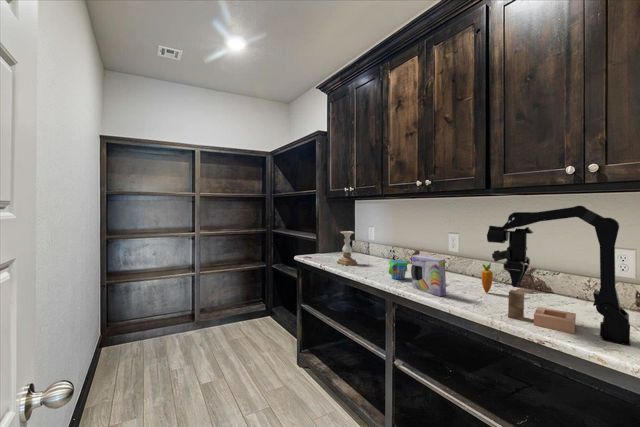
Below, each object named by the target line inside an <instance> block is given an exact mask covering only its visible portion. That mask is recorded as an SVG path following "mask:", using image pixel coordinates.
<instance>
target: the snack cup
mask: <svg viewBox="0 0 640 427" xmlns="http://www.w3.org/2000/svg"><path fill="white" fill-rule="evenodd" d="M388 263H389V267H388V274H389V275H390V276H391V279H394V280H405V279H406V274H407V273H406V272H408V264H409V263H408V261H406V260H402V259H401V260H400V259H398V260H397V259H393V260H389V261H388Z"/></svg>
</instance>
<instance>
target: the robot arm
mask: <svg viewBox="0 0 640 427" xmlns="http://www.w3.org/2000/svg"><path fill="white" fill-rule="evenodd" d="M570 218H579V219H580V220H582V221H584V222H585V223H587V224H589V225H590V226H593V227H594V230H595V233H596V237H597V240H598V244H599V245H598V246H599V273H600V274H599V276H600V277H599V280H600V284H599V285H600V286H599V287H600V288H599V290H597V289H596V290H595V289H594V290H593V293H592V294H593V299H594V300H593V301H594V302H593V305H592V306H593V307H595V309H596V311H597V313H599V314H600V315H601V316H602V321H600V324H599V325H600V326H599V329H600V330H599V336H600V337H601V338H602V339H601V340H602V341H607V342H611V343H616V344H621V345H624V346H625V345H626V346H628V347H629V346H630V347H631V341H630V339H631V337H630V336H631V323H630V314H629V313H628V311H626V310H625V309H624V308H622V307H621V303H620V299H619V295H618V290H617V288H616V242H617V238H618V234H619V230H620V224H619V221H617V219H615V218H612V217H607V216H606V217H604V216H602V215H600V214H598V213H596V212H594V211H593V210H590V209H588V208H587V207H585V205H576V206H575V205H574V206H572V207H566V208H565V207H563V208H557V209H551V210H544V211H543V210H541V211H522V212H521V211H515V212H512V213H510V214H509V215H508V218H507V221H506V223H504V224H503V226H496V225H489V226H488V231H487V233H486V240H487V243H496V244H498V243H499V244H505V243H506V242H508V246H507V248H506V250H499V249H498V250H494V251H493V253H491V256H492V257H491V258H492V259H493V260H494V262H499V261H502V260H506V261H504V262H503V269H504V271H506V272H507V273H509V276H510V280H511V284H512V287H514V288H517V287H518V284H519V283H522V280H523V278H524V277H525V274H526V272H527V270H528V268H529V266H530V265H531V259H530V257H529V256H527V251H528V247H527V237H528V236H527V235H528V234H530V235H531V234H533V233H534V231H532V229H531V228H530V227H529V225H533V224H536V223H540V222H546V221H548V222H549V221H555V220H556V221H557V220H563V219H564V220H565V219H570ZM522 227H525V228H522ZM511 229H512V230H511ZM513 229H515V230H513Z"/></svg>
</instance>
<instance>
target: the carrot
mask: <svg viewBox="0 0 640 427" xmlns="http://www.w3.org/2000/svg"><path fill="white" fill-rule="evenodd" d="M482 267H483V270H482V271H481V284H482V288H483V290H484V292H485V293H486V294H488V293H489V291H490V290H491V287H492V285H493V278H494V277H493V276H494V274H493V271H491V270H490V269H491V268H492V263H491V262H490V263H489V264H487V265H486V264H484V263H482Z"/></svg>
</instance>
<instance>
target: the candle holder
mask: <svg viewBox="0 0 640 427" xmlns="http://www.w3.org/2000/svg"><path fill="white" fill-rule="evenodd" d="M339 232H340V233H341V234H343V236H344V239H343V242H344V245H343V247H342V252H343V254H342V256H343V257H341V258H338V260H337V261H336V264H337V263H338V264H337V265H340V264H342V265H341V266H344V265H345V267H347V265H350V266H356V265H355V264H357V265H358V261H357V260H356V259H355V258H352V251H353V248H352V246H351V245H350V243H351V241H352V240H351V238H350V237H351V236H352V235H353V234H355V232H354V231H352V230H349V231H348V230H343V231H342V230H341V231H339Z"/></svg>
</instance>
